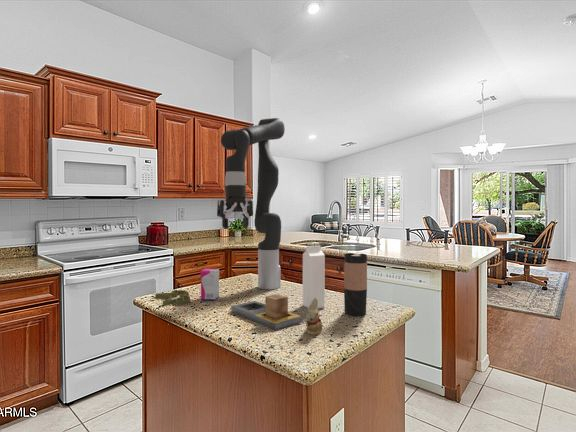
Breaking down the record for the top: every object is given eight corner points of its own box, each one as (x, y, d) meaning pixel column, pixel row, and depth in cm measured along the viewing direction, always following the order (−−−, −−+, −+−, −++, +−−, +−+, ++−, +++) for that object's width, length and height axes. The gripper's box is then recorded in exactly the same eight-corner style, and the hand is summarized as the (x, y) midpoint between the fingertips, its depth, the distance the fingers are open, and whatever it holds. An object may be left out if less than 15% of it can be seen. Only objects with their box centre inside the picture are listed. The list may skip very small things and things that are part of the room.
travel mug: (353, 317, 115) (353, 256, 114) (339, 311, 121) (339, 253, 121) (371, 314, 118) (372, 255, 118) (357, 308, 125) (357, 252, 124)
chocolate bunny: (298, 332, 101) (298, 298, 101) (314, 325, 107) (314, 293, 107) (313, 337, 98) (313, 301, 97) (329, 330, 103) (329, 296, 103)
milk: (324, 307, 126) (325, 246, 126) (309, 309, 124) (310, 247, 123) (316, 303, 132) (317, 244, 131) (302, 305, 129) (302, 245, 129)
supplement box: (219, 297, 141) (219, 268, 140) (215, 300, 135) (215, 271, 135) (205, 296, 141) (205, 268, 141) (200, 300, 135) (200, 270, 135)
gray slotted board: (254, 306, 128) (254, 300, 128) (300, 322, 110) (300, 315, 110) (231, 311, 121) (231, 305, 121) (275, 330, 103) (275, 322, 103)
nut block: (277, 318, 114) (277, 293, 114) (287, 322, 110) (287, 296, 110) (265, 321, 111) (265, 296, 111) (275, 325, 107) (275, 299, 107)
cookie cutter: (153, 297, 141) (153, 292, 141) (183, 293, 148) (183, 288, 148) (164, 308, 126) (164, 303, 126) (197, 303, 132) (197, 298, 132)
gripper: (245, 185, 138) (245, 227, 139) (213, 184, 129) (213, 228, 129) (257, 184, 132) (257, 228, 133) (224, 183, 123) (224, 229, 123)
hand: (235, 228), depth 131 cm, fingers open, 8 cm apart
